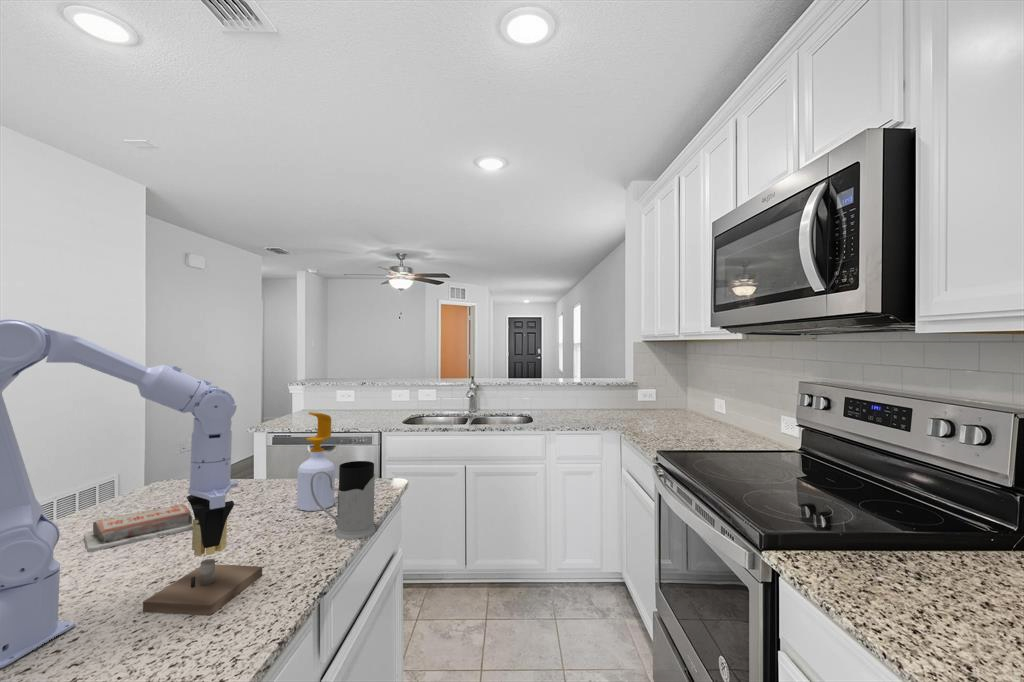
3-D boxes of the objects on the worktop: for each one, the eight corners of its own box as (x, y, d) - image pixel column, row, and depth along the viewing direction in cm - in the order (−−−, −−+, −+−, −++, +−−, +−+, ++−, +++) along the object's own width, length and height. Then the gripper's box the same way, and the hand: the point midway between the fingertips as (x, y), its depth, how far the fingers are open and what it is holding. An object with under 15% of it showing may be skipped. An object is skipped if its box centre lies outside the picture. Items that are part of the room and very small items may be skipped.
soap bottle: (288, 509, 119) (291, 413, 120) (313, 499, 128) (315, 409, 128) (317, 513, 116) (320, 414, 117) (341, 502, 125) (343, 410, 126)
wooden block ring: (228, 550, 78) (229, 520, 78) (195, 558, 75) (196, 526, 75) (223, 541, 82) (223, 512, 82) (190, 548, 79) (191, 518, 79)
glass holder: (372, 538, 101) (374, 468, 102) (303, 541, 99) (305, 470, 100) (378, 523, 110) (379, 459, 110) (314, 526, 108) (316, 461, 108)
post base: (210, 615, 71) (211, 581, 71) (142, 611, 72) (143, 578, 72) (262, 575, 84) (262, 546, 84) (204, 572, 85) (204, 544, 85)
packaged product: (185, 499, 112) (195, 509, 105) (184, 520, 112) (195, 531, 105) (83, 518, 99) (88, 530, 92) (82, 541, 99) (87, 555, 92)
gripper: (247, 463, 76) (245, 548, 75) (230, 449, 87) (227, 523, 86) (195, 470, 71) (192, 560, 71) (183, 454, 82) (181, 532, 82)
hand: (208, 541), depth 78 cm, fingers closed on wooden block ring, 5 cm apart
